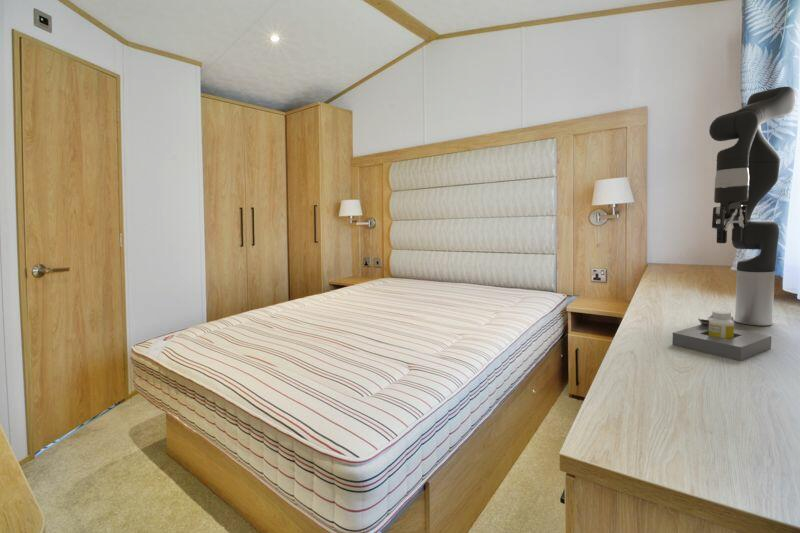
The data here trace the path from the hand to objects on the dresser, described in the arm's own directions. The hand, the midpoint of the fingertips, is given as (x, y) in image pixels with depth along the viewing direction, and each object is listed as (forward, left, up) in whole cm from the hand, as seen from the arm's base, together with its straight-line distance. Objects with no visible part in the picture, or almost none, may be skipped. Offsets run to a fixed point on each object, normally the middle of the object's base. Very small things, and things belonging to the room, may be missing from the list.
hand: (729, 242), depth 115 cm
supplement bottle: (+12, +4, -28) cm, 31 cm away
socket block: (+12, +4, -28) cm, 31 cm away
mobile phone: (-4, -4, -28) cm, 29 cm away
